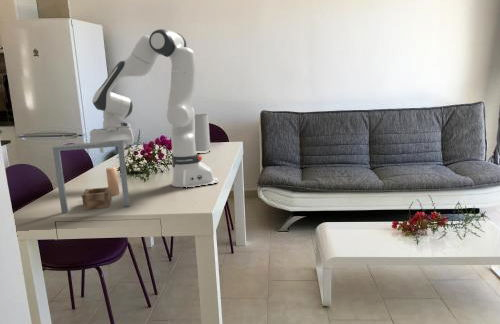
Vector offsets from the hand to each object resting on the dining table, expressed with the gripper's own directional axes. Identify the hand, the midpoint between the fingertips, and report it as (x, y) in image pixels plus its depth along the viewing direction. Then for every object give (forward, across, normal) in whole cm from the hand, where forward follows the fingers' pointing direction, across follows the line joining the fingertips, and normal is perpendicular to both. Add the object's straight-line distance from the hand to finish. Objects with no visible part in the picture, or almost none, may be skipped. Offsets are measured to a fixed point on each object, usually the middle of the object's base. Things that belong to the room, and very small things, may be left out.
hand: (112, 151), depth 205 cm
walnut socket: (+32, -4, -7) cm, 33 cm away
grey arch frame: (+35, -4, -10) cm, 37 cm away
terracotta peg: (+21, +1, +4) cm, 22 cm away
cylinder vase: (-42, +49, +66) cm, 92 cm away
